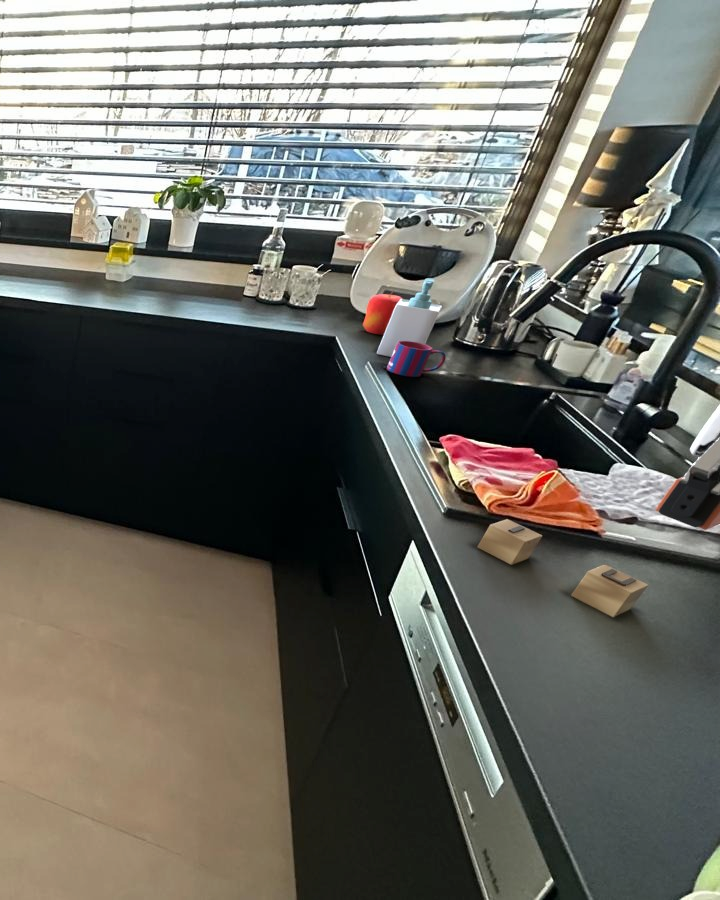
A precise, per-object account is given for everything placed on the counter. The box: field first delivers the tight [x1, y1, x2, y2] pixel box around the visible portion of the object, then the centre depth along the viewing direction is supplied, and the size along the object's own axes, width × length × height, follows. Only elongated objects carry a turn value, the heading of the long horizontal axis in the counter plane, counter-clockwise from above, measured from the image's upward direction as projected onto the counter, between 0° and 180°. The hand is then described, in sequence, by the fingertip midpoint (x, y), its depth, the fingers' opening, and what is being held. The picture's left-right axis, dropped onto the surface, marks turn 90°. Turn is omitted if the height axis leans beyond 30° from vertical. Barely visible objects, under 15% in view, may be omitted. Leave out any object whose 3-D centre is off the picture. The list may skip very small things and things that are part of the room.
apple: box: [362, 291, 404, 336], centre depth 175 cm, size 9×8×12 cm
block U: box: [570, 564, 649, 618], centre depth 74 cm, size 4×4×4 cm
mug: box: [386, 341, 447, 378], centre depth 145 cm, size 7×10×7 cm
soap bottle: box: [376, 277, 442, 358], centre depth 155 cm, size 9×9×19 cm
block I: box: [477, 518, 543, 566], centre depth 82 cm, size 4×4×4 cm
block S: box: [654, 476, 720, 531], centre depth 66 cm, size 4×4×4 cm
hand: (690, 514), depth 67 cm, fingers closed on block S, 4 cm apart
